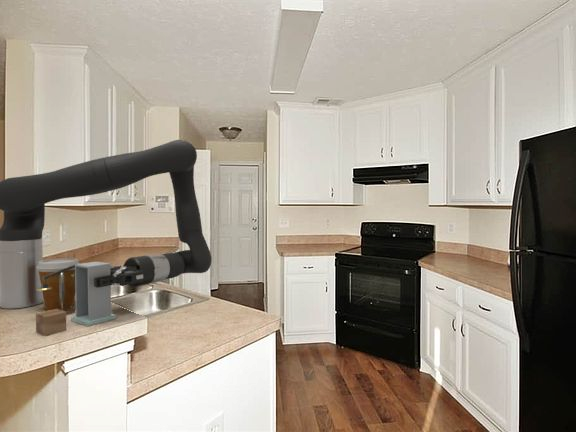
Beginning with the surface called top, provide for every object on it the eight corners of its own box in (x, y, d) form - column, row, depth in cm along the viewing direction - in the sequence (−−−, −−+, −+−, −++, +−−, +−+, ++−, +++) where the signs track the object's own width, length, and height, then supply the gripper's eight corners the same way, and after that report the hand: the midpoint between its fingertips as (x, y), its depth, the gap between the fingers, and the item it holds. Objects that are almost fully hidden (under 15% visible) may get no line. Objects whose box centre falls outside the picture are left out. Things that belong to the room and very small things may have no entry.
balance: (33, 317, 83) (32, 268, 83) (80, 306, 92) (79, 262, 92) (41, 320, 81) (40, 269, 81) (88, 309, 90) (88, 263, 90)
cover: (75, 316, 81) (74, 264, 81) (97, 311, 85) (96, 261, 85) (89, 321, 78) (88, 266, 78) (111, 315, 82) (110, 263, 82)
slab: (71, 320, 81) (70, 317, 81) (99, 313, 86) (98, 310, 86) (87, 326, 77) (87, 322, 77) (116, 318, 83) (116, 314, 83)
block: (36, 332, 74) (35, 313, 74) (57, 327, 77) (56, 308, 77) (45, 336, 72) (44, 316, 71) (66, 330, 75) (66, 311, 75)
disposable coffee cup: (72, 300, 99) (72, 256, 98) (87, 306, 93) (86, 260, 92) (31, 307, 91) (30, 261, 91) (44, 314, 85) (43, 265, 85)
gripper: (130, 253, 97) (67, 261, 84) (165, 257, 90) (102, 267, 76) (130, 280, 98) (68, 293, 84) (165, 287, 90) (102, 301, 76)
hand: (84, 280), depth 80 cm, fingers open, 8 cm apart
